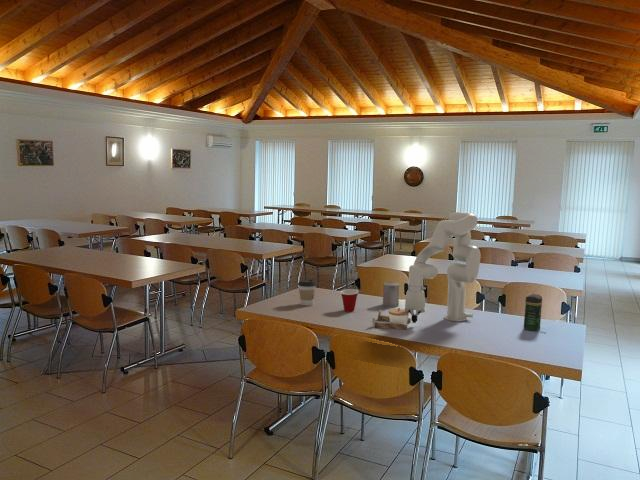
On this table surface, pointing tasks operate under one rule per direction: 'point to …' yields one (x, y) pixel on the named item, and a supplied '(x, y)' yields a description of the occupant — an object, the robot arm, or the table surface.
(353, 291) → the plastic cup
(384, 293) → the pillar candle
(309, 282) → the coffee cup
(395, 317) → the lidded jar
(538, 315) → the coffee jar
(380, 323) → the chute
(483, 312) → the table surface
